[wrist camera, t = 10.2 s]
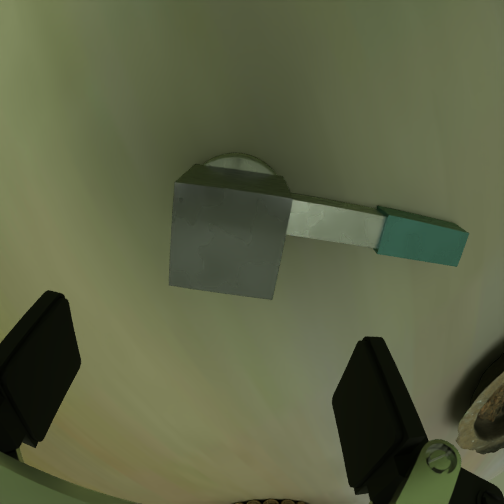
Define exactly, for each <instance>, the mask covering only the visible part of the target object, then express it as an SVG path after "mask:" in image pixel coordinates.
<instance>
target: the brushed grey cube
mask: <svg viewBox="0 0 504 504" xmlns="http://www.w3.org/2000/svg"><path fill="white" fill-rule="evenodd" d="M292 202H293V197H292V195H291V193H290V191H289V189H288V186H287V184H286V182H285V180H284V178H283V176H278V175H272V174H266V173H259V172H253V171H246V170H239V169H231V168H224V167H216V166H208V165H200V164H195V165H193V166H192V167H191V168H190V169H189V170H188V171H187V172H186V173H184V174H183V175H182V176H181V177H180V178H179V179H178V180H177V181H176V182H175V187H174V199H173V212H172V227H171V245H170V266H169V285H170V286H177V287H183V288H190V289H197V290H203V291H210V292H217V293H225V294H232V295H239V296H247V297H254V298H262V299H270V300H272V299H273V294H274V289H275V285H276V280H277V275H278V271H279V266H280V261H281V256H282V252H283V247H284V242H285V237H286V232H287V227H288V222H289V217H290V212H291V207H292Z"/></svg>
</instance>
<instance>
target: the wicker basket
mask: <svg viewBox="0 0 504 504" xmlns="http://www.w3.org/2000/svg"><path fill="white" fill-rule="evenodd" d="M300 503H301V504H305V503H304V502H302V501H299V502H297V503H296V504H300ZM235 504H243V503H241V502H237V503H235ZM247 504H261V503H260V502H259V501H257V500H251V501H249V502H247ZM263 504H279V502H278V501H276V500H274V499H268V500H266V501H264V503H263ZM281 504H295V503H294V502H293V501H292V500H288V499H286V500H283V501H282V502H281Z"/></svg>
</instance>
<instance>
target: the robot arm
mask: <svg viewBox="0 0 504 504" xmlns="http://www.w3.org/2000/svg"><path fill="white" fill-rule="evenodd" d="M80 365H81V358H80V354H79V349H78V345H77V341H76V336H75V332H74V327H73V322H72V317H71V312H70V307H69V302H68V300H67V299H65V296H64V295H63V294H62V293H58V292H54V291H49V290H48V291H46V292H45V293H44V294H43V295H42V296H41V297H40V298H39V299H38V300H37V301H36V302H35V303H34V305H33V306H32V307H31V308H30V309H29V310H28V311H27V312H26V314H25V315H24V316H23V317H22V318H21V319H20V320H19V322H18V323H17V324H16V325H15V326H14V328H13V329H12V330H11V331H10V332H9V333H8V335H7V336H6V337H5V338H4V340H3V341H2V342H1V343H0V504H140V503H136V502H132V501H128V500H124V499H121V498H117V497H113V496H110V495H106V494H103V493H100V492H97V491H93V490H90V489H87V488H84V487H81V486H79V485H76V484H73V483H70V482H68V481H65V480H62V479H60V478H57V477H55V476H52V475H50V474H48V473H45V472H43V471H41V470H38V469H36V468H34V467H31V466H29V465H27V464H25V463H24V461H23V458H22V454H21V451H20V445H21V443H22V442H23V443H25V444H27V445H30V446H32V447H34V448H36V446H37V444H38V442H41V441H42V440H43V439H44V437H45V435H46V433H47V431H48V429H49V427H50V425H51V423H52V421H53V419H54V417H55V415H56V413H57V411H58V409H59V407H60V405H61V403H62V401H63V399H64V397H65V395H66V393H67V391H68V389H69V387H70V385H71V383H72V382H73V380H74V378H75V376H76V374H77V372H78V370H79V368H80ZM332 405H333V410H334V414H335V419H336V424H337V428H338V433H339V438H340V443H341V447H342V452H343V457H344V462H345V467H346V472H347V477H348V483H349V485H350V487H354V491H355V495H359V494H366V493H369V497H370V502H369V504H504V497H503V494H502V492H501V491H500V489H499V488H498V487H497V486H495V485H494V484H492V483H489V482H488V481H486V480H484V479H482V478H480V477H478V476H476V475H474V474H472V473H471V472H469V471H467V470H465V469H463V468H461V456H460V454H459V452H458V450H457V449H456V448H455V447H454V445H452V444H451V443H449V442H448V441H445V440H442V439H435V440H431V441H428V438H427V435H426V433H425V430H424V428H423V426H422V423H421V421H420V418H419V416H418V414H417V411H416V409H415V407H414V404H413V402H412V400H411V397H410V395H409V393H408V391H407V388H406V386H405V384H404V382H403V379H402V377H401V375H400V373H399V371H398V368H397V366H396V364H395V362H394V360H393V358H392V356H391V353H390V351H389V349H388V347H387V345H386V343H385V341H384V339H383V338H382V337H368V336H366V337H364V338H363V340H362V341H358V342H357V344H356V347H355V349H354V351H353V354H352V356H351V358H350V360H349V363H348V365H347V367H346V369H345V371H344V373H343V376H342V378H341V380H340V382H339V384H338V386H337V388H336V390H335V392H334V395H333V398H332Z"/></svg>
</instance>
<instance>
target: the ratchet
mask: <svg viewBox="0 0 504 504" xmlns="http://www.w3.org/2000/svg"><path fill="white" fill-rule="evenodd" d="M203 165H208V166H216V167H224V168H231V169H239V170H246V171H253V172H259V173H266V174H272V175H276V173H275V172H274V171H273V169H272V168H271V167H270V166H269V165H267V164H266V163H265V162H263V161H262V160H260V159H258V158H256V157H254V156H251V155H248V154H243V153H227V154H222V155H219V156H216V157H214V158H212V159H210V160H208V161H207V162H206V163H204V164H203ZM291 195H292V197H293V202H292V207H291V212H290V217H289V222H288V227H287V232H286V235H293V236H299V237H306V238H313V239H319V240H326V241H332V242H339V243H345V244H351V245H358V246H364V247H370V248H373V249H374V250H375V252H376V253H377V254H381V255H388V256H394V257H400V258H407V259H413V260H419V261H425V262H431V263H437V264H443V265H449V266H455V267H457V266H458V263H459V260H460V258H461V255H462V252H463V249H464V247H465V244H466V241H467V238H468V235H469V233H468V232H466V231H465V230H464V229H462V228H461V227H459V226H458V225H456V224H455V223H451V222H447V221H443V220H439V219H435V218H431V217H426V216H422V215H418V214H414V213H409V212H405V211H400V210H396V209H391V208H387V207H382V206H377V209H375V208H370V207H365V206H360V205H355V204H350V203H345V202H339V201H334V200H329V199H323V198H317V197H312V196H306V195H300V194H294V193H291Z"/></svg>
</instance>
